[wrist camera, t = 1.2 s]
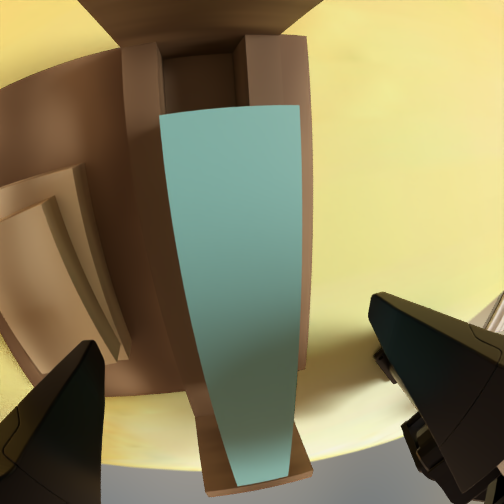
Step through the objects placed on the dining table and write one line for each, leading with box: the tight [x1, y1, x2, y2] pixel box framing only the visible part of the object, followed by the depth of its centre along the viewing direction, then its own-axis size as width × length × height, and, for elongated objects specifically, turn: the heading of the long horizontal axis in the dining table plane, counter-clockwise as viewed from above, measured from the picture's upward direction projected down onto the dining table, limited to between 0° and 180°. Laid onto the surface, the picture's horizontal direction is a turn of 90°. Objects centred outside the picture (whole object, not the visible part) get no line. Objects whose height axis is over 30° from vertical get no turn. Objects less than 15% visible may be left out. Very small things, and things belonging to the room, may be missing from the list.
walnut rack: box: [0, 0, 323, 497], centre depth 11 cm, size 18×20×9 cm
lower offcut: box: [0, 163, 132, 360], centre depth 12 cm, size 6×10×2 cm, turn 4°
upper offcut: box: [0, 195, 121, 374], centre depth 11 cm, size 5×8×1 cm, turn 11°
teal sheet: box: [159, 105, 302, 486], centre depth 10 cm, size 2×12×9 cm, turn 4°
